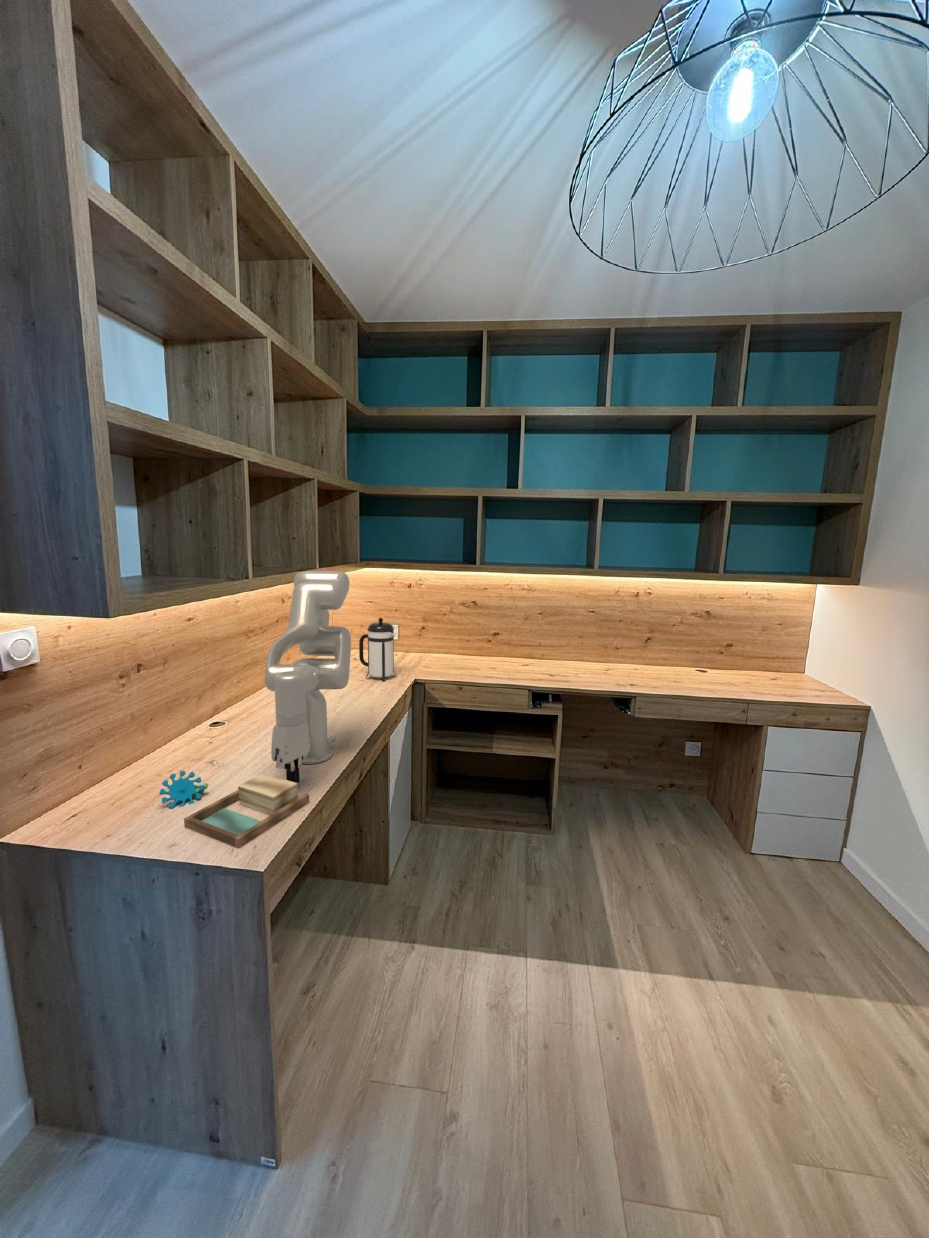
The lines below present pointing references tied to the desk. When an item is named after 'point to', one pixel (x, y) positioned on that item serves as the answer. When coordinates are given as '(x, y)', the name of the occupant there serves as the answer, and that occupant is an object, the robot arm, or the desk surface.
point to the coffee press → (379, 650)
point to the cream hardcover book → (267, 793)
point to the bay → (236, 820)
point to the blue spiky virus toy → (182, 789)
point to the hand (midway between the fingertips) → (293, 782)
